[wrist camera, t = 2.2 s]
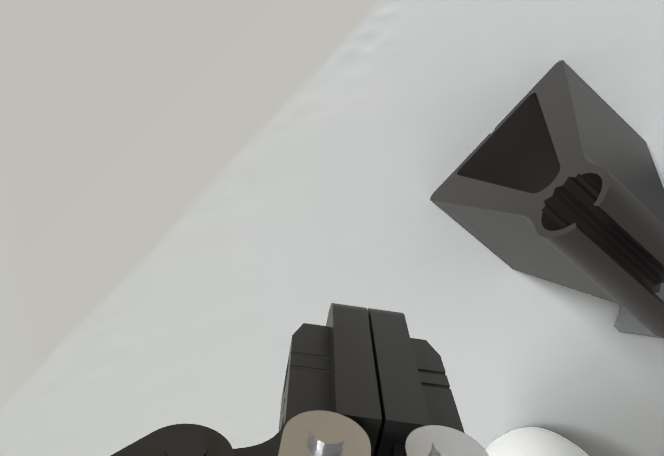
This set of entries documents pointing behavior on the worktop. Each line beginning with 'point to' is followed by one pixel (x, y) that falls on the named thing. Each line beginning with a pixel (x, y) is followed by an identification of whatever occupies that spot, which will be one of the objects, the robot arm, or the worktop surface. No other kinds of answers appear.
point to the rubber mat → (634, 320)
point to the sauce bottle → (533, 444)
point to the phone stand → (567, 197)
